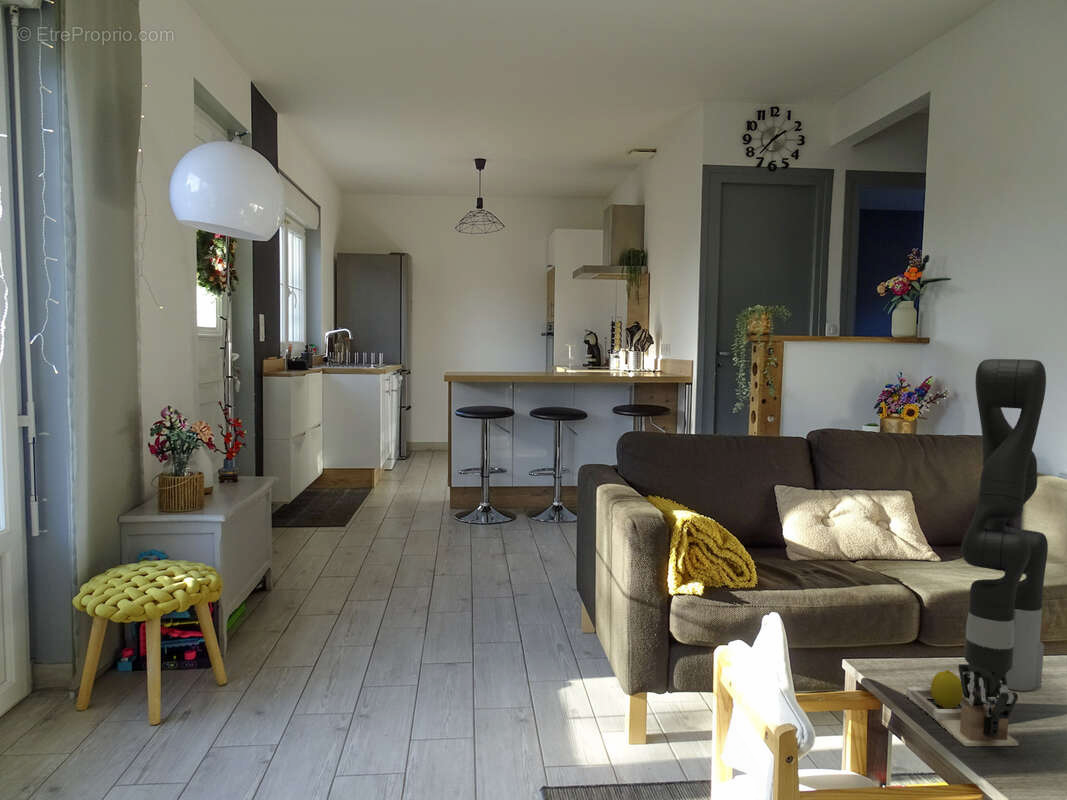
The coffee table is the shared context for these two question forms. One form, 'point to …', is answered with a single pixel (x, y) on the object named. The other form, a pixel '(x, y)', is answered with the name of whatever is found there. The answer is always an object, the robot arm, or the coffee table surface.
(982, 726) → the white open frame tray
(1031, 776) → the coffee table surface
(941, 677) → the lemon
